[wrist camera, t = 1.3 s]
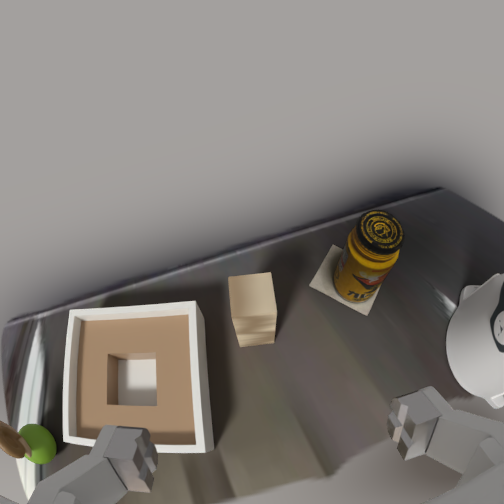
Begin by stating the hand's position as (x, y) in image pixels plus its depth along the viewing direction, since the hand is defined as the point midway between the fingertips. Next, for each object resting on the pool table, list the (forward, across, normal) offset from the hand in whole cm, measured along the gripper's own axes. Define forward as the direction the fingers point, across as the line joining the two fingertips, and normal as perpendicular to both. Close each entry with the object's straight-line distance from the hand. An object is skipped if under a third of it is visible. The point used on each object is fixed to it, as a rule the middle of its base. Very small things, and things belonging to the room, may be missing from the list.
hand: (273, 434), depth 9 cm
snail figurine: (+16, +29, +20) cm, 39 cm away
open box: (+22, +14, +13) cm, 29 cm away
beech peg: (+27, 0, +9) cm, 28 cm away
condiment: (+30, -13, +6) cm, 33 cm away
